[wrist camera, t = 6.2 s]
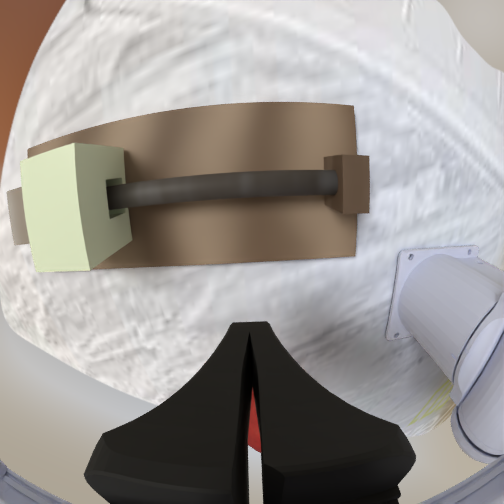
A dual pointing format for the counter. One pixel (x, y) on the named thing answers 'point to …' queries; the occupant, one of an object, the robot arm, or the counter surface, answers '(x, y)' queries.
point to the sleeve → (73, 206)
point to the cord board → (230, 184)
